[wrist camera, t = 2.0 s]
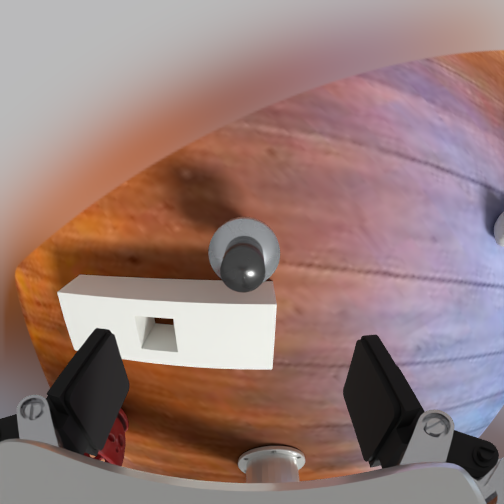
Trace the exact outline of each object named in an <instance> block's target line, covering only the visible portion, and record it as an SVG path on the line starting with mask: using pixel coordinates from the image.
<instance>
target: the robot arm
mask: <svg viewBox="0 0 504 504" xmlns="http://www.w3.org/2000/svg"><path fill="white" fill-rule="evenodd" d="M128 391H129V381H128V378H127V375H126V371H125V368H124V365H123V362H122V359H121V355H120V352H119V348H118V345H117V341H116V338H115V335H114V334H112V333H111V331H110V330H109V329H101V328H96V329H94V331H93V332H92V333H91V335H90V336H89V337H88V338H87V340H86V341H85V342H84V343H83V345H82V346H81V347H80V349H79V350H78V351H77V353H76V354H75V355H74V357H73V358H72V359H71V361H70V362H69V363H68V365H67V366H66V367H65V369H64V370H63V371H62V373H61V374H60V375H59V377H58V378H57V380H56V381H55V382H54V384H53V385H52V387H51V388H50V390H49V391H48V393H47V395H48V397H47V398H46V399H45V398H44V397H42V396H39V395H30V396H28V397H26V398H24V399H23V400H22V401H21V402H20V403H19V405H18V407H17V414H15V415H12V416H9V417H5V418H2V419H0V504H504V457H502V458H501V459H499V458H498V456H499V454H498V450H497V449H496V447H495V446H494V445H493V444H492V443H490V442H488V441H485V440H482V439H479V438H476V437H473V436H470V435H467V434H464V433H461V432H458V431H455V430H454V423H453V420H452V418H451V417H450V416H449V415H448V414H447V413H445V412H443V411H440V410H428V411H426V412H424V410H423V408H422V406H421V405H420V403H419V401H418V399H417V398H416V396H415V394H414V392H413V391H412V389H411V387H410V386H409V384H408V382H407V380H406V379H405V377H404V375H403V374H402V372H401V370H400V369H399V367H398V366H397V365H396V364H395V363H394V361H393V359H392V358H391V356H390V354H389V353H388V351H387V350H386V348H385V346H384V345H383V343H382V342H381V340H380V338H379V337H378V336H377V335H367V336H362V337H361V340H358V341H357V343H356V346H355V350H354V354H353V358H352V361H351V365H350V368H349V372H348V375H347V379H346V382H345V385H344V389H343V396H344V399H345V402H346V405H347V408H348V411H349V414H350V417H351V420H352V423H353V426H354V429H355V433H356V436H357V439H358V442H359V445H360V448H361V452H362V455H363V458H364V460H365V461H369V464H370V467H375V466H379V465H381V466H382V469H379V470H374V471H369V472H364V473H359V474H354V475H348V476H341V477H335V478H328V479H320V480H311V481H300V482H299V474H298V470H299V469H300V468H302V466H303V465H304V464H305V456H304V454H303V453H302V452H301V451H299V450H297V449H295V448H292V447H287V446H264V447H259V448H255V449H252V450H249V451H247V452H245V453H243V454H242V455H241V456H240V457H239V459H238V467H239V469H240V470H241V471H243V472H244V473H246V483H224V482H210V481H199V480H191V479H183V478H176V477H169V476H163V475H158V474H152V473H147V472H143V471H138V470H134V469H129V468H125V467H121V466H118V465H114V464H110V463H107V462H103V461H100V460H97V459H93V458H90V457H87V456H84V453H88V454H91V455H94V456H97V454H98V452H99V450H100V451H101V450H103V448H104V446H105V443H106V441H107V438H108V436H109V434H110V431H111V429H112V427H113V424H114V422H115V420H116V417H117V415H118V413H119V411H120V408H121V406H122V404H123V402H124V399H125V397H126V395H127V393H128Z"/></svg>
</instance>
